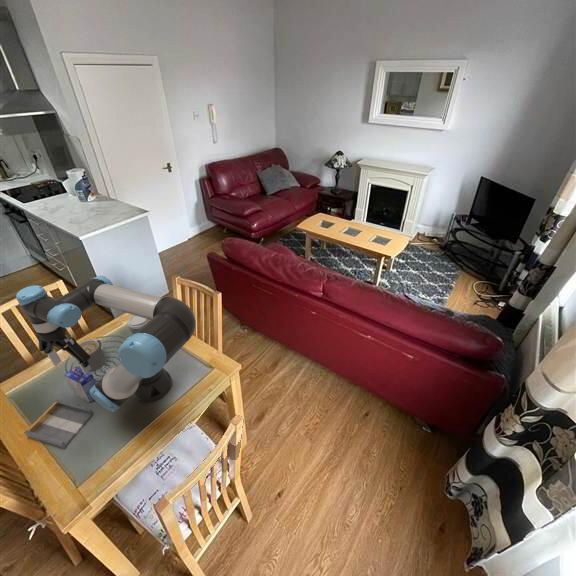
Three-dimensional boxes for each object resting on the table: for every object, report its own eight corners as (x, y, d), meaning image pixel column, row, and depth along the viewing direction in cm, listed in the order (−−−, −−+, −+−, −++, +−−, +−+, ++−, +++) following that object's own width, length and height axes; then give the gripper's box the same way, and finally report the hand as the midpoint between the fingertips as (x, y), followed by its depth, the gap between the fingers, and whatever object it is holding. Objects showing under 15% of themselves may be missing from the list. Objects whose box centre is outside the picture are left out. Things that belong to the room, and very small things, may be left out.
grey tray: (94, 413, 119) (91, 409, 117) (64, 448, 108) (60, 444, 106) (60, 404, 122) (57, 399, 120) (27, 437, 111) (24, 432, 109)
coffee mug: (96, 373, 135) (88, 358, 129) (76, 369, 136) (67, 354, 130) (115, 351, 145) (108, 336, 140) (96, 348, 147) (89, 333, 141)
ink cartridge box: (102, 392, 127) (90, 370, 118) (91, 403, 123) (77, 380, 114) (85, 384, 130) (72, 361, 121) (73, 394, 126) (59, 371, 117)
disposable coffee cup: (129, 346, 148) (120, 323, 140) (142, 331, 157) (135, 308, 148) (149, 350, 147) (141, 327, 138) (161, 335, 155) (154, 312, 147)
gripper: (88, 326, 105) (107, 366, 117) (29, 313, 110) (54, 353, 122) (70, 341, 99) (92, 382, 111) (9, 326, 104) (37, 367, 116)
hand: (72, 367), depth 117 cm, fingers open, 13 cm apart
